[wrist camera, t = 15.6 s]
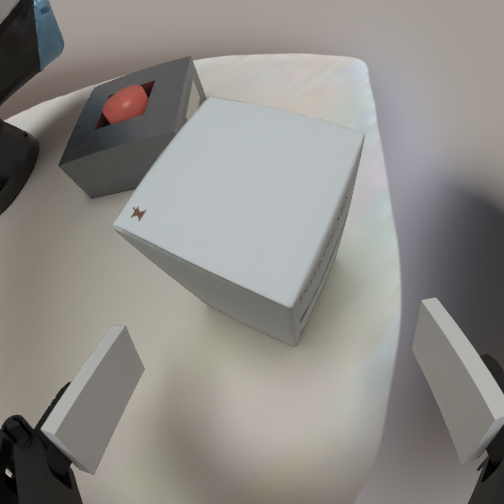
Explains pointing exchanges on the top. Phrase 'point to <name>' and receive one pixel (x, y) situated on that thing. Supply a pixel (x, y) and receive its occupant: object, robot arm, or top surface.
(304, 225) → the supplement box
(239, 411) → the top surface
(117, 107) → the button
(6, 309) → the top surface
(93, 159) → the grey button housing
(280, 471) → the top surface
